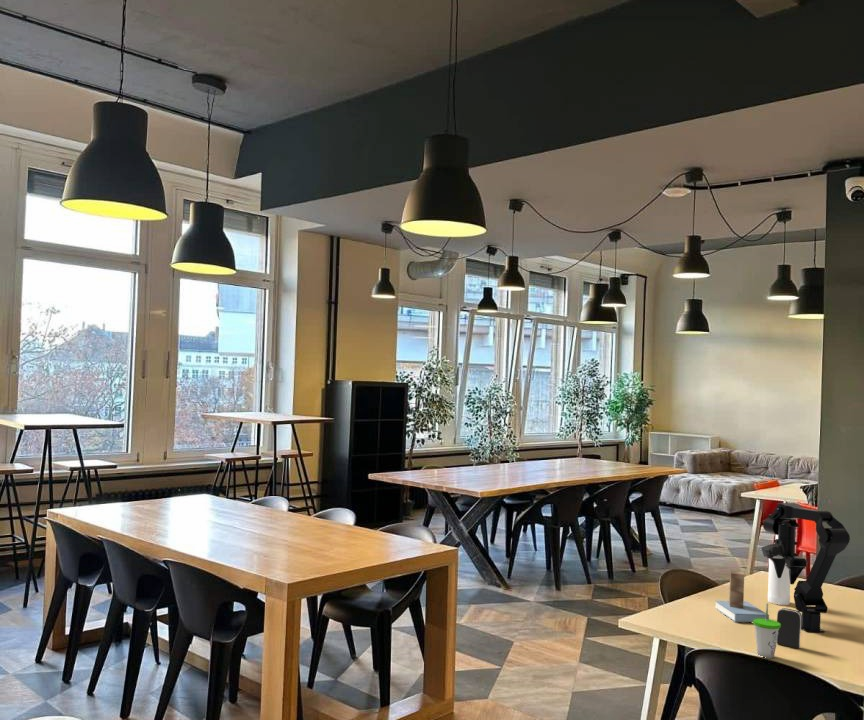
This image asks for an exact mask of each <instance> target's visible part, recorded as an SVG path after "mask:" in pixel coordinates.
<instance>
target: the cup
mask: <svg viewBox="0 0 864 720" xmlns="http://www.w3.org/2000/svg"><path fill="white" fill-rule="evenodd" d="M765 613H766V619H763V618H757V619H754V620H753V623H752V624H753V625H754V634H755V644H756V653H757V654H758V655H760V656H763V657H766V658H771V659H772V660H773V659H774V658H775V653H776V649H777V638H778V632H779V628H780V627H781V624H780V623H779V622H777V620H774V619H770V618H769V619H768V615H769V603H765ZM757 654H756V655H757ZM758 655H757V656H758ZM766 658H765V659H766ZM771 659H770V660H771Z"/></svg>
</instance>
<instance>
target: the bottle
mask: <svg viewBox="0 0 864 720" xmlns="http://www.w3.org/2000/svg"><path fill="white" fill-rule="evenodd" d="M776 539H778V535H776V534H775V538H774V541H775V540H776ZM785 565H787V564H785ZM767 582H768V584H767V588H768V589H767V602H768V603H769V602H770V603H769V604H772V603H773V605H776V604H778V605H777V606H789V605H790V601H791V584H790V578H789V569H788V568H787V567H786V566H785V567H784V570H783V573H782V576H781V578H778V577H777V574H776V570H775V567H774V563H773V562H772V561H771V560H770V559H769V558H768V581H767Z"/></svg>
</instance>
